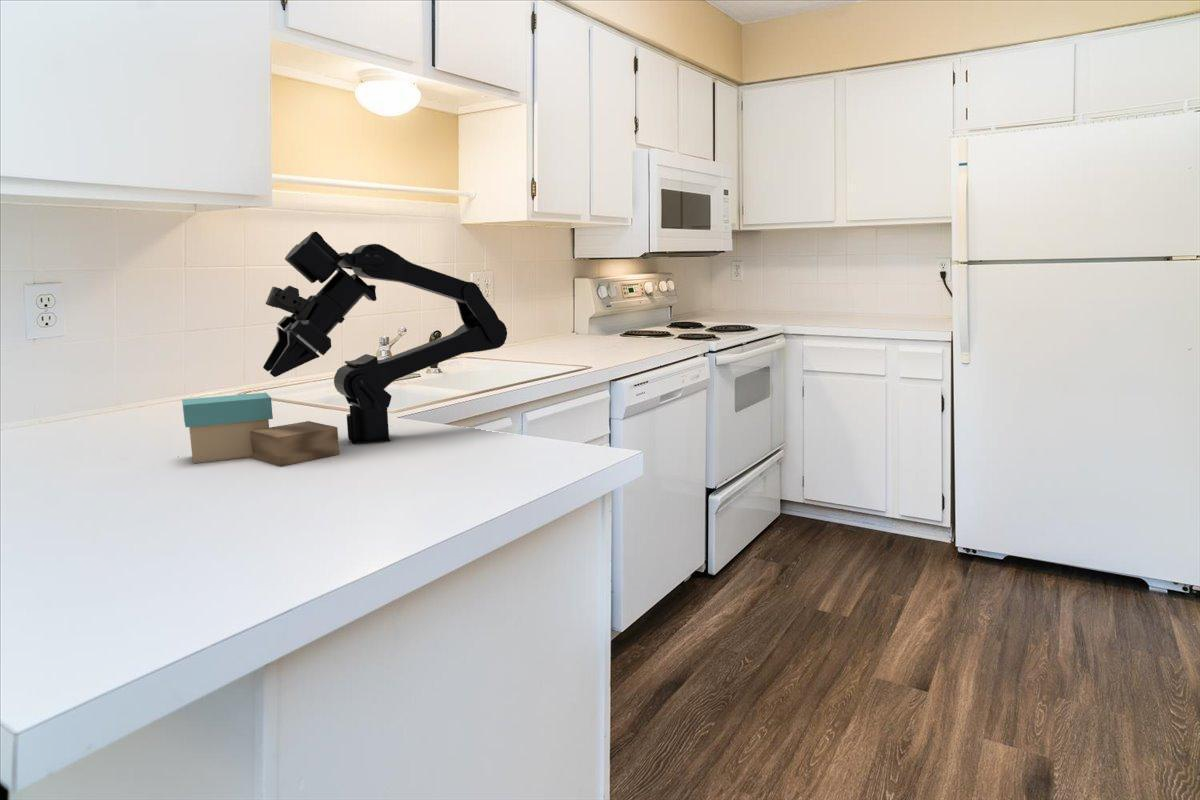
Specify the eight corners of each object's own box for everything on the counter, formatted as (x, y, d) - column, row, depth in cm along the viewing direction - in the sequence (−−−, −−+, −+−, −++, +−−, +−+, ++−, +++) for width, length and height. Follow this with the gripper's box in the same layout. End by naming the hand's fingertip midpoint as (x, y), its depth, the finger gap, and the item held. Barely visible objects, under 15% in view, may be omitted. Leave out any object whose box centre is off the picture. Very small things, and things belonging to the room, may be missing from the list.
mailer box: (267, 448, 133) (262, 395, 132) (271, 454, 129) (266, 399, 127) (192, 456, 128) (186, 402, 127) (193, 463, 123) (187, 406, 122)
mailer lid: (267, 413, 133) (266, 392, 133) (272, 418, 128) (271, 397, 127) (184, 420, 127) (182, 399, 127) (185, 427, 122) (183, 405, 121)
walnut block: (310, 447, 134) (308, 421, 133) (339, 454, 128) (337, 427, 127) (252, 458, 126) (250, 430, 125) (280, 466, 120) (278, 437, 120)
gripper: (286, 269, 137) (222, 336, 134) (303, 268, 121) (232, 343, 118) (336, 313, 142) (276, 378, 139) (359, 317, 126) (292, 391, 123)
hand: (268, 372), depth 129 cm, fingers open, 9 cm apart
